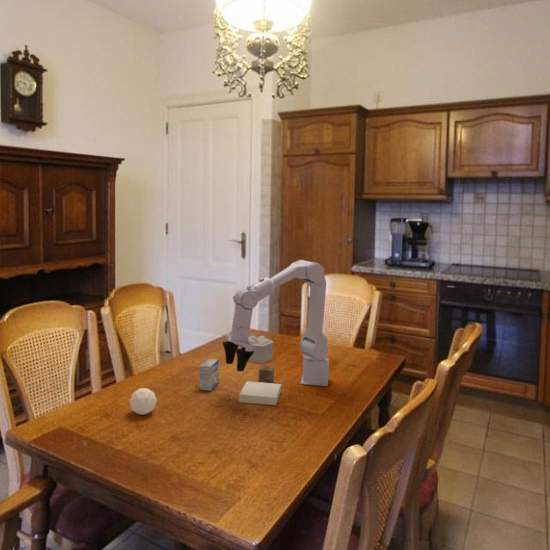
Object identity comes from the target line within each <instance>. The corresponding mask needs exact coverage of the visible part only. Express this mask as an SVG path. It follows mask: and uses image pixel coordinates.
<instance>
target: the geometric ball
mask: <svg viewBox="0 0 550 550" xmlns="http://www.w3.org/2000/svg"><path fill="white" fill-rule="evenodd" d="M157 401H158V399H157V397H156V393H155V392H154V391H152V390H150V389H149V388H148V387H147V388H145V387H141V388H138V389H136V391H134V392H133V393H131V396H130V399H129V405H130V409H131V410H132V411H133V412H134V413H136V414H138V415H142V416H143V415H148V414H149V413H150V412H152V411H153V410H154V409H155V408H156V404H157Z"/></svg>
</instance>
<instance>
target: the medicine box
mask: <svg viewBox="0 0 550 550" xmlns="http://www.w3.org/2000/svg"><path fill="white" fill-rule="evenodd" d="M219 361H220V360H219V359H214V358H213V359H212V358H207V359H206V360H205V361H203V363H201V364H200V365H199V367H198V371H199V372H198V373H199V375H198V377H199V378H198V379H199V390H200V391H209V392H212V391H213V390H214V389H215V387H216V386H217V385H218V384H219V381H220V379H219V378H220V377H219V376H220V375H219V371H220V370H219V368H220V367H219ZM213 388H214V389H213Z"/></svg>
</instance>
